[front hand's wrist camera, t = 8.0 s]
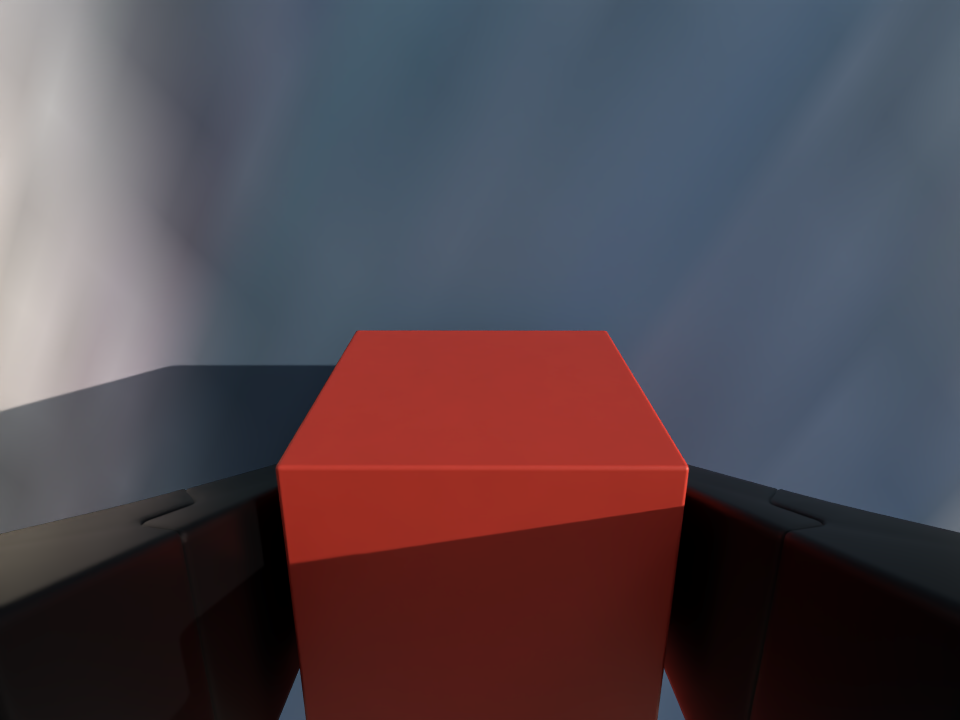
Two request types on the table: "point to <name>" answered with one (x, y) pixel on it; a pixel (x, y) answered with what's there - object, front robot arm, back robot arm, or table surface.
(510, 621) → the brick
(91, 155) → the table surface
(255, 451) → the table surface
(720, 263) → the table surface
